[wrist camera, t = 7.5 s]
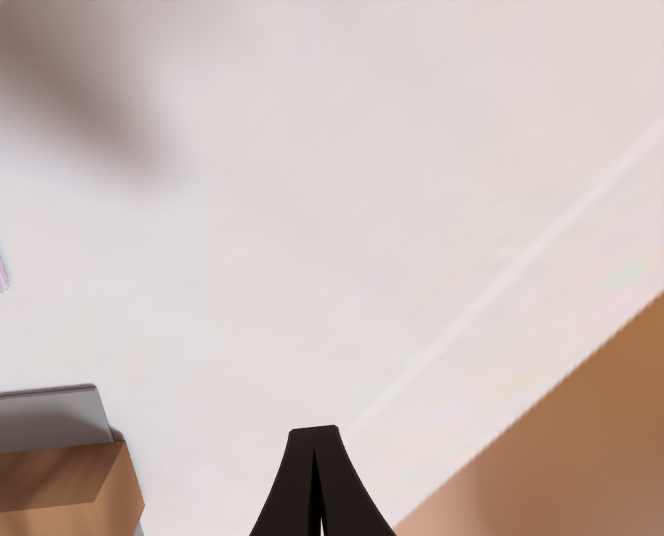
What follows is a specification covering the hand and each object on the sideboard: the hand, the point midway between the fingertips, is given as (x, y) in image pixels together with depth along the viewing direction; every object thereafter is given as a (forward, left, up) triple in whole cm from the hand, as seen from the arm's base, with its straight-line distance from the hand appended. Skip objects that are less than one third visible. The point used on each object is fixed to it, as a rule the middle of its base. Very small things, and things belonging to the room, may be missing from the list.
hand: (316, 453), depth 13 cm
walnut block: (-11, -10, -8) cm, 17 cm away
